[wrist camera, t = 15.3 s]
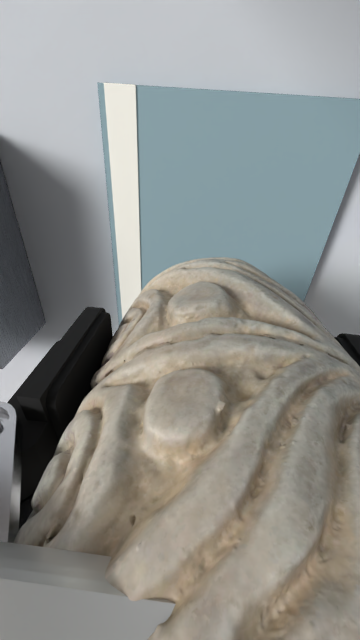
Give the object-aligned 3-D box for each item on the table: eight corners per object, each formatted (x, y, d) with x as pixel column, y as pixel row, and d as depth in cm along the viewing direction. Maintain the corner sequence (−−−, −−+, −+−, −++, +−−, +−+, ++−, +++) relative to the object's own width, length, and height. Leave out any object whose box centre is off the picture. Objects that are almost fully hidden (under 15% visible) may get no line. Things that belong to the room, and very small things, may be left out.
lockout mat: (102, 85, 12) (96, 82, 11) (372, 102, 11) (380, 100, 11) (123, 351, 21) (121, 356, 20) (275, 367, 20) (276, 373, 20)
